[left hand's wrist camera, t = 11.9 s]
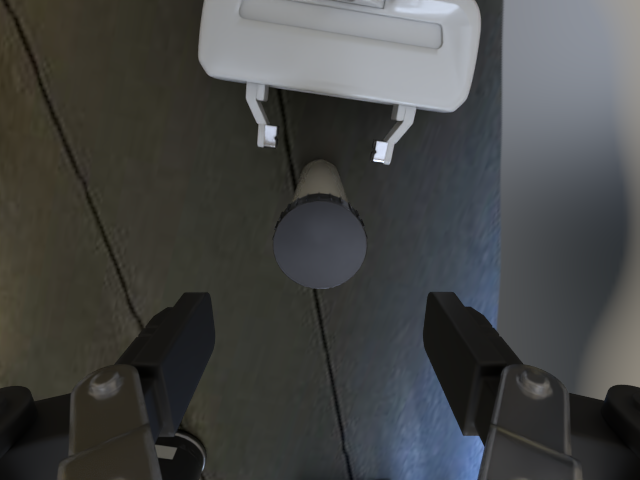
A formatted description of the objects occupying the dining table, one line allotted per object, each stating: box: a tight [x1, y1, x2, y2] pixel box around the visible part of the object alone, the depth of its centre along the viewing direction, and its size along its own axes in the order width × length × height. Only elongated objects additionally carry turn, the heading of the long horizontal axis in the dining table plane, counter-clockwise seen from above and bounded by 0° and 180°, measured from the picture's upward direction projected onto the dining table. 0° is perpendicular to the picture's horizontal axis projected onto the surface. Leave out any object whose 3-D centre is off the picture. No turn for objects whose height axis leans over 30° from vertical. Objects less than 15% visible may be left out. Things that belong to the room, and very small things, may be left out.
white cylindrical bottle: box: [291, 160, 348, 204], centre depth 27 cm, size 4×4×19 cm
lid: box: [272, 192, 367, 289], centre depth 18 cm, size 5×5×2 cm
